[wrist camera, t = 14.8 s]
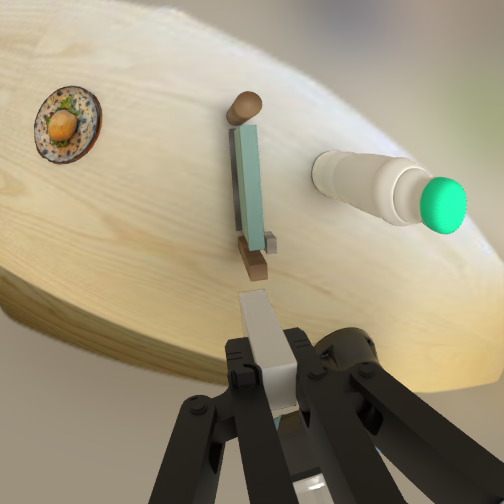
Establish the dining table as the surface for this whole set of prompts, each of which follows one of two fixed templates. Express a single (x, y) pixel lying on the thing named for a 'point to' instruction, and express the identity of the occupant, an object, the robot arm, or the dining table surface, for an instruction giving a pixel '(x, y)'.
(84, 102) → the burger
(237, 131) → the gate
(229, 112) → the gate frame
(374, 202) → the water bottle
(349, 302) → the dining table surface
